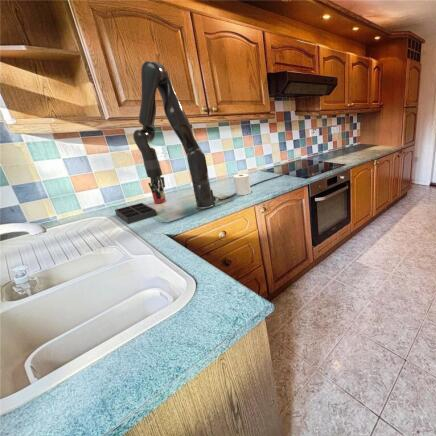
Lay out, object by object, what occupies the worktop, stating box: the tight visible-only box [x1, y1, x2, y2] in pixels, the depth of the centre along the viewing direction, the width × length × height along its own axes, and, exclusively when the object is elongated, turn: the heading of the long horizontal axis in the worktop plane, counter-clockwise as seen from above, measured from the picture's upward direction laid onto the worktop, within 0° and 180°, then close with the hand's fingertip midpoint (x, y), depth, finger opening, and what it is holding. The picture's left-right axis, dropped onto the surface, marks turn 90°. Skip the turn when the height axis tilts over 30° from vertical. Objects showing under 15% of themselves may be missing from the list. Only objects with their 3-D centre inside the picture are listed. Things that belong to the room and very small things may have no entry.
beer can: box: [151, 186, 166, 204], centre depth 162 cm, size 7×7×12 cm
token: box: [159, 190, 166, 199], centre depth 147 cm, size 4×4×4 cm
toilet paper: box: [233, 173, 252, 196], centre depth 171 cm, size 10×10×12 cm
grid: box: [114, 202, 158, 225], centre depth 144 cm, size 14×21×3 cm
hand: (161, 197), depth 148 cm, fingers closed on token, 4 cm apart
